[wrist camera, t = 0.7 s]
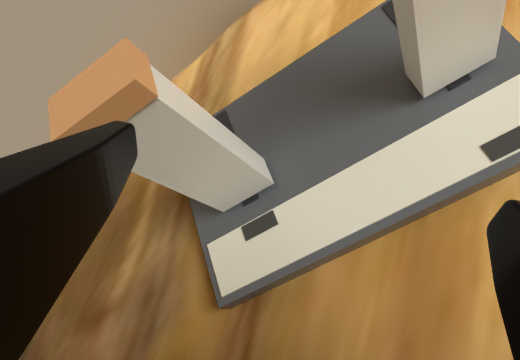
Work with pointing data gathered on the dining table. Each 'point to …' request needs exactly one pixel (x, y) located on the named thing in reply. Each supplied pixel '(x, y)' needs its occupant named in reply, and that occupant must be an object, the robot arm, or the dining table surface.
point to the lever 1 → (160, 129)
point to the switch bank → (355, 154)
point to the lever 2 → (446, 38)
